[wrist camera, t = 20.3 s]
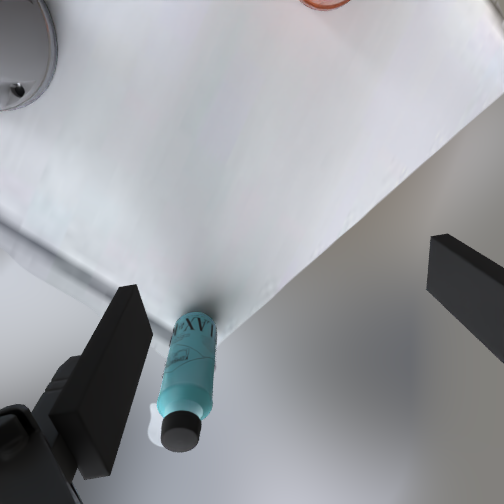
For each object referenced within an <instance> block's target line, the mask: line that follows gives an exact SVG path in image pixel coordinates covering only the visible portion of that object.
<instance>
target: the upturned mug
mask: <svg viewBox="0 0 504 504" xmlns="http://www.w3.org/2000/svg"><path fill="white" fill-rule="evenodd" d="M299 1H300V2H302V3H303V4H304V5H306V6H307V7H309V8H312V9H314V10H319V11H330V10H334V9H337V8H339V7H341V6H343V5H345V4H346V3H348V2H349V1H350V0H299Z"/></svg>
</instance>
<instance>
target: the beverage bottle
mask: <svg viewBox="0 0 504 504" xmlns="http://www.w3.org/2000/svg"><path fill="white" fill-rule="evenodd" d="M176 322H177V323H176V325H175V328H174V329H173V334H172V335H173V336H172V338H171V340H172V341H170V343H171V345H169V346H170V350H169V354H168V357H167V363H166V367H165V371H164V376H163V381H162V385H161V390H160V394H159V397H158V401H157V408H158V411H159V413H160V414H161V416H162V417H163V418H164V419H163V422H162V427H161V430H162V431H161V443H162V445H163V446H164V447H165V448H166V449H168V450H170V451H173V452H186V451H189V450H191V449H193V448H194V447H195V446H196V445H197V444H198V441H199V436H200V431H201V420H203V419H204V418H206V417H207V416H208V414H209V413H210V411H211V409H212V404H213V401H212V393H213V376H214V366H215V365H214V363H215V352H216V349H215V348H216V347H217V346H215V345H216V343H217V331H216V329H217V328H216V327H217V326H215V322H214V321H213V320H212V318H211V317H209V316H208V315H206V314H204V313H200V312H191V313H187V314H185V315H183V316H182V317H180V318H179V319H178V320H177V321H176Z"/></svg>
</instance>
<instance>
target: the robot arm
mask: <svg viewBox="0 0 504 504" xmlns="http://www.w3.org/2000/svg"><path fill="white" fill-rule="evenodd" d="M56 62H57V39H56V33H55V29H54V25H53V22H52V18H51V16H50V13H49V11H48V8H47V6H46V4H45V2H44V0H0V111H9V110H15V109H19V108H22V107H24V106H27V105H29V104H30V103H32V102H34V101H35V100H36V99H38V98H39V97H40V96H41V95H42V94H43V93H44V91H45V90H46V89H47V87H48V86H49V84H50V82H51V80H52V78H53V75H54V72H55V68H56ZM426 290H427V291H429V293H431V294H432V295H433V296H434V297H435V298H436V299H437V300H438V301H439V302H440V303H441V304H442V305H443V306H444V307H445V308H446V309H447V310H448V311H449V312H450V313H451V314H452V315H454V316H455V317H456V318H457V319H458V320H459V321H460V322H461V323H462V324H463V325H464V326H465V327H466V328H467V329H468V330H469V331H470V332H471V333H472V334H473V335H474V336H475V337H476V338H478V339H479V340H480V341H481V342H482V343H483V344H484V345H485V346H486V347H487V348H488V349H489V350H490V351H491V352H492V353H493V354H494V355H495V356H496V357H497V358H499V359H500V361H502V362H503V363H504V268H503V267H501V266H500V265H498V264H497V263H495V262H493V261H492V260H490V259H488V258H487V257H485V256H483V255H481V254H480V253H479V252H477V251H475V250H474V249H472V248H471V247H469V246H467V245H465V244H464V243H462V242H461V241H459V240H457V239H456V238H454V237H453V236H451V235H449V234H443V235H436V236H431V240H430V253H429V265H428V278H427V289H426ZM152 336H153V332H152V329H151V326H150V323H149V320H148V317H147V314H146V311H145V308H144V305H143V302H142V299H141V296H140V293H139V290H138V287H137V284H135V285H129V286H123V287H119V288H118V290H117V292H116V294H115V296H114V297H113V299H112V301H111V303H110V304H109V306H108V308H107V310H106V312H105V313H104V315H103V317H102V319H101V321H100V322H99V324H98V326H97V328H96V330H95V331H94V333H93V335H92V337H91V339H90V340H89V342H88V344H87V346H86V348H85V349H84V351H83V353H82V355H80V356H73V357H70V358H69V359H68V360H67V361H66V362H65V363H64V364H62V365H61V366H60V367H59V368H58V370H57V372H56V374H55V375H54V377H53V378H52V381H51V382H50V383H49V385H48V386H47V388H46V389H45V392H44V393H43V394H42V396H41V398H40V399H39V401H38V402H37V404H36V406H35V407H34V409H33V411H32V412H30V410H29V408H27V407H26V406H25V405H21V404H16V405H11V406H7V407H5V408H3V409H1V410H0V504H83V502H82V500H81V498H80V496H79V494H78V492H77V490H76V488H75V486H74V484H73V483H72V480H73V478H74V475H75V473H76V470H77V468H78V469H79V471H80V473H81V475H82V476H83V478H84V480H87V479H93V478H99V477H105V476H110V474H111V471H112V467H113V464H114V461H115V458H116V455H117V451H118V448H119V445H120V441H121V438H122V434H123V431H124V428H125V425H126V422H127V418H128V415H129V412H130V408H131V405H132V402H133V399H134V395H135V392H136V389H137V385H138V382H139V379H140V376H141V372H142V369H143V366H144V362H145V359H146V356H147V352H148V349H149V346H150V343H151V340H152Z"/></svg>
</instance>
